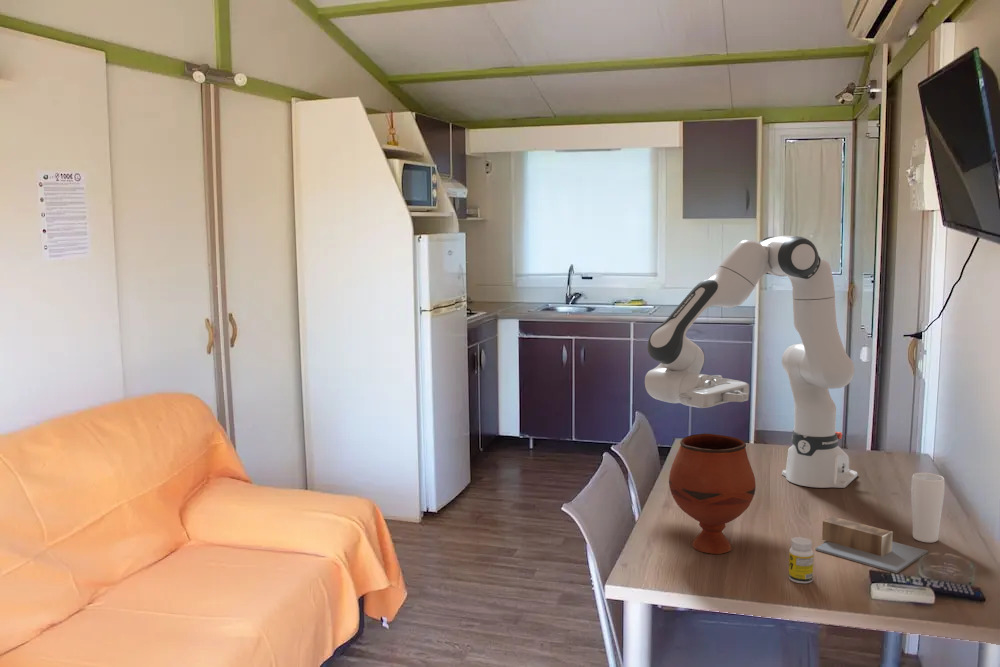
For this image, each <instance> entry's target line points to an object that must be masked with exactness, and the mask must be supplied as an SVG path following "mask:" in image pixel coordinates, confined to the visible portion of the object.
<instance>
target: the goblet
mask: <svg viewBox="0 0 1000 667" xmlns="http://www.w3.org/2000/svg"><path fill="white" fill-rule="evenodd" d="M679 442H680V446H679V449H678V450H677V452H676V455H675V457H674V458H673V463H672V465H671V467H670V469H669V470H670V471H669V476H668V487H669V490H670V493H671V496H672V498H673V500H674V501H675V503H676V504H677V506H678V507H679V508H680V509H681V510H682V512H684V513H685V514H687V515H688V516H689V517H691V518H692V519H693V520H695V521H697V522H699V523H698V525H699V527H700V528H701V529H702V530H701V532H699V534H698V535H697V536H696V537H695V539H694V540H693V542H692V544H691V545H692V547H693V549H694V550H696V551H698V552H701V553H706V554H712V555H721V554H724V553H725V554H726V553H728V552H730V551H732V545H731V543H730V542H729V539H727V537H726V536H725V534H724V533H723V531H724V530H725V529H726V524H728V523H730V522H732V521H734V520H736V519H737V518H738V517H740V516H741V515H742V514H743V513H745V512H746V511H747V509H748V508H749V507H750V505H751V503H752V501H753V499H754V497H755V495H756V494H755V493H756V489H757V488H756V486H757V485H756V478H755V474H754V473H755V472H754V471H753V469H752V467H751V463H750V460H749V457H748V454H747V453H748V452H747V448H746V447H747V444H746V442H745V441H744V440H742V439H740V438H738V437H735V436H730V435H729V436H728V435H723V434H717V433H716V434H715V433H707V432H706V433H705V432H704V433H703V432H702V433H697V434H691V435H687V436H685V437H683V438H681V440H680V441H679Z"/></svg>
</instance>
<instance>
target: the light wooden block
mask: <svg viewBox="0 0 1000 667" xmlns="http://www.w3.org/2000/svg"><path fill="white" fill-rule="evenodd" d="M893 533H894V532H893V531H891V530H888V529H883V528H879V527H875V526H871V525H868V524H863V523H860V522H856V521H851V520H848V519H844V518H841V517H840V518H839V517H836V516H830V517H828V518H826V519H824V520H822V536H821V538H822V539H821V540H823V541H824V542H827V541H828V542H832V543H836V544H839V545H843V546H846V547H850V548H853V549H857V550H861V551H864V552H868V553H871V554H875V555H879V556H882V557H883V556H885V555H886V554H888V553H890V552H891V551H892V542H893V536H894V534H893Z"/></svg>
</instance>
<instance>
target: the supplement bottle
mask: <svg viewBox="0 0 1000 667" xmlns="http://www.w3.org/2000/svg"><path fill="white" fill-rule="evenodd" d="M812 542H813V541H812V540H811V539H809V538H806V537H801V536H800V537H799V536H796V537H792V538H791V543H790V545H791V547H790V548H789V551H788V554H789V555H788V578H789V580H790V581H792V582H794V583H796V584H797V583H798V584H810V583H812V582H813V581H814V580H813V577H814V551H813V549H812V548H813V543H812Z"/></svg>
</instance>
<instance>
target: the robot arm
mask: <svg viewBox="0 0 1000 667" xmlns="http://www.w3.org/2000/svg"><path fill="white" fill-rule="evenodd" d="M764 275H773V276H775V277H777V276H778V277H787V278H789V280H790V282H791V286H792V287H791V288H792V291H791V292H792V311H793V326H794V328H795V330H796V331H797V332H798V335H799V337H800V339H801V342H802V343H801V342H800V343H794V344H792V345H790V346H788V347H787V348H786V349H785V351H784V352H783V354H782V356H781V364H782V365H781V366H782V368H783V369H784V371H785V373H786V375H787V377H788V381H789V384H790V389H791V392H792V393H791V394H792V398H793V406H794V407H793V408H794V411H793V414H794V415H793V416H794V417H793V418H794V419H793V424H794V425H793V426H794V427H793V430H792V434H791V443H792V445H791V446H790V447H788V450H787V456H786V457H787V459H786V465H785V469H783V470H781V471H782V472H781V475H783V476H784V477H785V479H786V480H787V481H788V482H790V483H792V484H795V485H798V486H802V487H803V486H804V487H809V488H822V489H823V488H835V489H836V488H837V489H842V488H843V489H844V488H846V487H848V485H849V484H850V483H852V482H853V481H855V479H856V478H857V477H858V476H859V474H858V471H856V470H853V469H850V458H849V455H848V454H847V453H846V452H845V451H844V450H843V449H842V448H841V447H840V446H839V445H840V444H839V440H841V439H842V437H843V433H842V432H841V431H836V428H837V426H836V421H837V407H836V403H835V402H834V400H833V399H832V397H831V393H830V390H829V389H842V388H844V387H846V386H848V385H849V384H850V383H851V381H852V380H853V378H854V376H855V375H854V374H855V366H854V362H853V361H852V359H851V358H850V356H849V355H848V354H847V352H846V350H845V348H844V345H843V341H842V339H841V336H840V332H839V328H838V323H837V313H836V296H835V295H836V293H835V283H834V279H833V278H834V277H833V273H832V269H831V265H830V263H829V262H828V261H827V260H826V259H825V258H824V259H823V258H821V257H820V255H819V251H818V248H817V246H815V244H814V243H813V242H812V241H811V240H809V239H807V238H806V237H803V236H797V235H796V236H793V235H779V236H769V237H765V238H763V239H761V240H759V241H757V240H753V239H744V240H741V241H739V242H738V243H737V244H736V245H735V246H734V247H733V248H732V250H730V251H729V253H728V254H727V255H726V256H725V258H724V259H723V260H722V262H721V263H720V264H719V266H718V267H717V269H716V270H715V272H714V273H713V274H712V275H711V276H710V277H709V278H707V279H703V280H702V281H700V282H698V283H697V284H696V285H695V286H694V288H692V290H691V291H690V292H688V294H687V295H686V296H685V298H684V299H683V300H682V301H681V302H680V304H678V305H677V307H676V308H675V309H674V310H673V312H672V313H671V314H670V315H669V316H668V317H667V318H666V319H665V320H664V322H662V323H661V324H659V325H658V327H656V328H655V329H654V330H653V331H652V332H651V334H650V335H649V337H648V341H647V352H648V354H649V356H650V357H651V358H652V359H653V360H655V361H657V362H658V363H659V364H658V365H657V366H655V367H654V368H652V369H650V370H648V372H646V374H645V376H644V386H645V390H646V392H647V394H648V395H649V396H650V397H651V398H653V399H655V400H658V401H661V402H665V403H668V404H669V403H670V404H682V405H684V406H686V407H687V406H688V407H692V408H693V407H694V408H697V409H698V408H699V409H704V408H711V407H714V406H718V405H722V404H725V403H729V402H730V403H731V402H734V403H735V402H736V403H737V402H738V403H742V402H747V401H749V397H750V384H749V383H747V382H745V381H741V380H736V379H731V378H724V377H723V375H720V374H703V373H701V371H702V370H703V368H704V365H705V359H706V357H705V353H704V351H703V349H702V348H701V347H699V345H698V344H696V343H695V342H694V341H693V340H691V339H689V337H687V332H688V330H689V329H690V328H691V327H692V325H693V324H694V323H695V322H696V321H697V319H698V318H699V317H700V315H701V314H702V313H703V312H704V311H706V310H707V309H709V308H711V307H718V308H724V309H725V308H726V309H727V308H728V309H729V308H736V307H739V306H741V305H742V304H744V302H745V301H746V300H747V299H748V298H749V297H750V295H751V293H752V292H753V291H754V289H755V288H756V287H757V284H758V283H759V281H760V279H761V278H762V277H764Z"/></svg>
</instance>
